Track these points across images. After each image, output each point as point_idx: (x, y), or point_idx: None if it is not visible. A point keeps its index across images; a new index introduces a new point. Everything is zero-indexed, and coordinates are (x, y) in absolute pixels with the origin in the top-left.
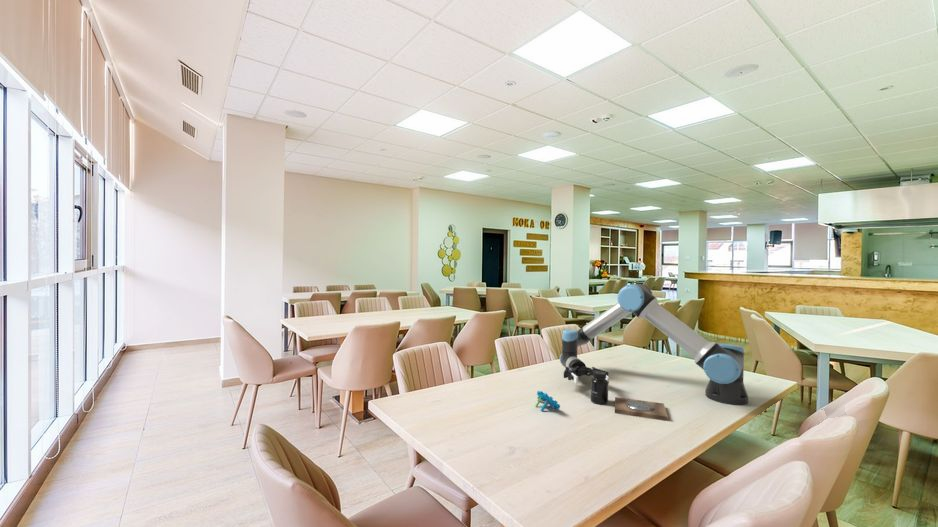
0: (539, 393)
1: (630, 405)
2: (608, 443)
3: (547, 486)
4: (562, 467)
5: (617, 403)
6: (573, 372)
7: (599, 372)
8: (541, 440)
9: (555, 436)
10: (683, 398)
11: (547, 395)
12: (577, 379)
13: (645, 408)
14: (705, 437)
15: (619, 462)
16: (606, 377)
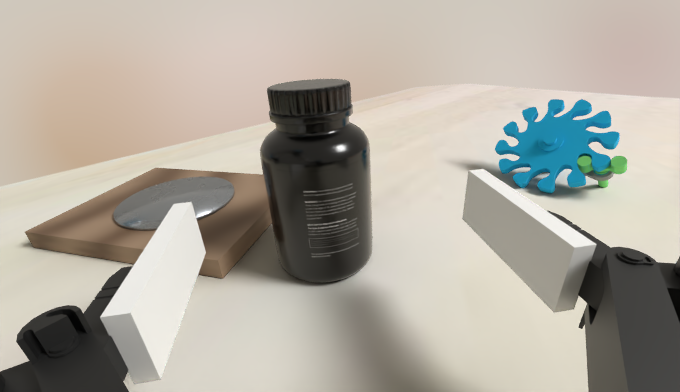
0: (595, 119)
1: (218, 193)
2: (367, 124)
3: (449, 93)
4: (438, 101)
5: (259, 207)
6: (611, 338)
7: (310, 84)
8: (488, 117)
9: (467, 123)
10: None
11: (548, 109)
12: (470, 187)
13: (179, 185)
14: (153, 150)
15: (362, 110)
16: (187, 224)
